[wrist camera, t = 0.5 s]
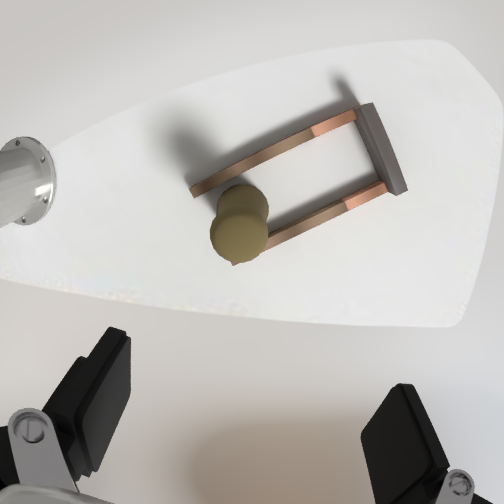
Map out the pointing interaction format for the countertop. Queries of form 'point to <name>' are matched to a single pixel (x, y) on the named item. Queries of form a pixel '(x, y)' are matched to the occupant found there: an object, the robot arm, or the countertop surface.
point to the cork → (240, 224)
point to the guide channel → (388, 182)
